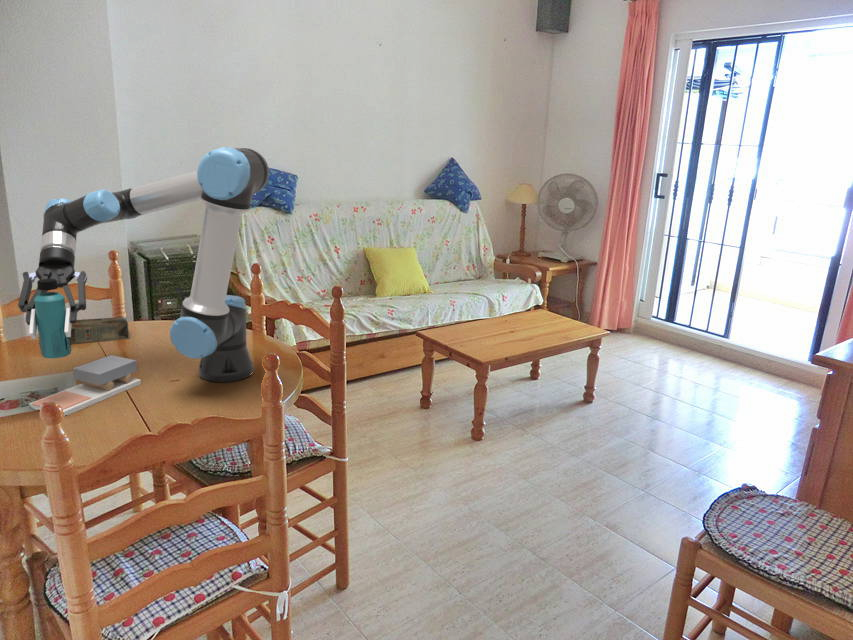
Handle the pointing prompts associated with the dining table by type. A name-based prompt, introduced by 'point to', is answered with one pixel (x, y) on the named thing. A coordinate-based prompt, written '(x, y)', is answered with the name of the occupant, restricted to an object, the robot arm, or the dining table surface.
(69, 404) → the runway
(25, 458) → the dining table surface
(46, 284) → the beverage bottle
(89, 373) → the slab
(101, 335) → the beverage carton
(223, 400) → the dining table surface
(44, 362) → the dining table surface
